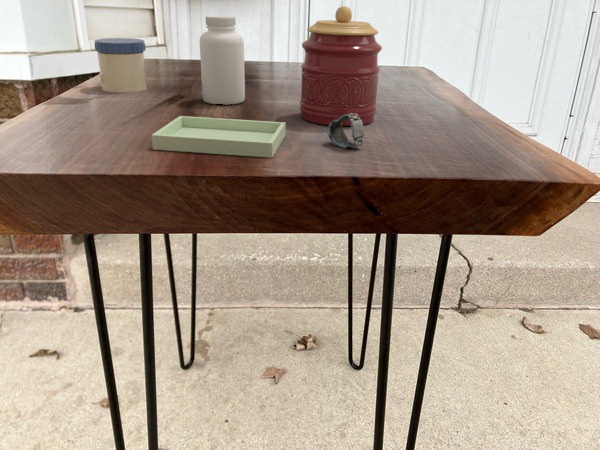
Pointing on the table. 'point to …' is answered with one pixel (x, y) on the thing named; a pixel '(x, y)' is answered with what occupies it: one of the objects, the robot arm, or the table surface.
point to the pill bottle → (222, 61)
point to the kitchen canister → (340, 70)
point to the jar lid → (119, 45)
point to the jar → (122, 72)
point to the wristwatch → (339, 136)
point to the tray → (220, 136)
